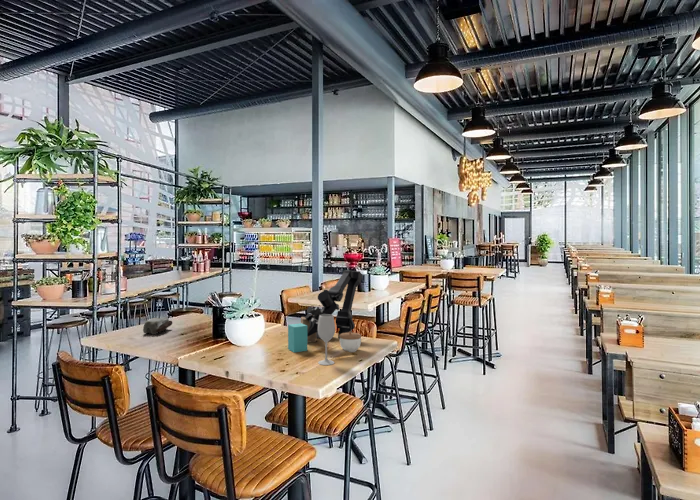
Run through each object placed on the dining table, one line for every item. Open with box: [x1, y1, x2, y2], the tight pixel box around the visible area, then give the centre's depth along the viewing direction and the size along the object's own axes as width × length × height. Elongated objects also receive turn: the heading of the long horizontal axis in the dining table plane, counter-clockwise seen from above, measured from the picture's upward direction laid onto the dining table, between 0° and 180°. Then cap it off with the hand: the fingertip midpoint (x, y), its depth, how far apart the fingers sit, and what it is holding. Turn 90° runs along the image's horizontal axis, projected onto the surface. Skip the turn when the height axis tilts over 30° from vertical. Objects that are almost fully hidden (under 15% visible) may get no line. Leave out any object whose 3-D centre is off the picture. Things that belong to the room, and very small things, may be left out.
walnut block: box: [300, 316, 317, 343], centre depth 229 cm, size 7×7×12 cm
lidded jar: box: [339, 331, 362, 353], centre depth 212 cm, size 11×11×9 cm
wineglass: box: [317, 314, 336, 366], centre depth 191 cm, size 8×8×21 cm
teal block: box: [287, 322, 308, 353], centre depth 210 cm, size 7×7×12 cm
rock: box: [142, 316, 173, 335], centre depth 252 cm, size 18×11×8 cm, turn 2°
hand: (306, 335), depth 212 cm, fingers closed
